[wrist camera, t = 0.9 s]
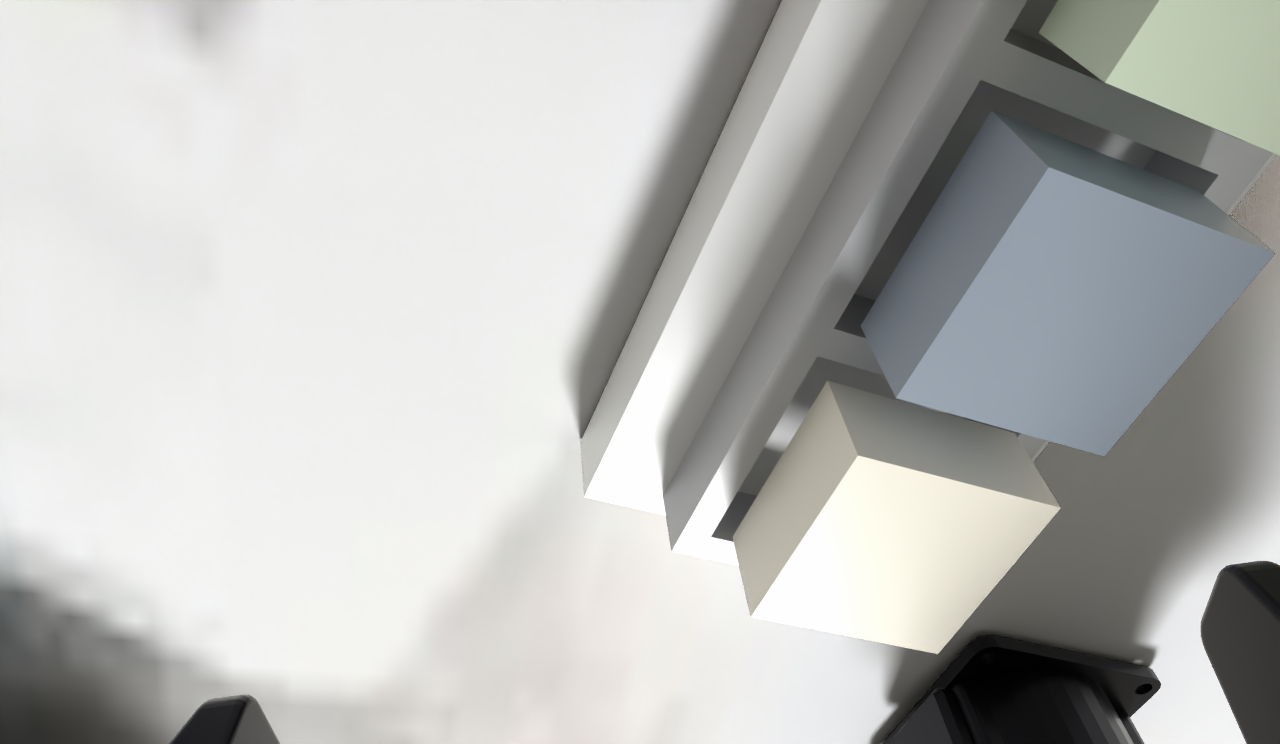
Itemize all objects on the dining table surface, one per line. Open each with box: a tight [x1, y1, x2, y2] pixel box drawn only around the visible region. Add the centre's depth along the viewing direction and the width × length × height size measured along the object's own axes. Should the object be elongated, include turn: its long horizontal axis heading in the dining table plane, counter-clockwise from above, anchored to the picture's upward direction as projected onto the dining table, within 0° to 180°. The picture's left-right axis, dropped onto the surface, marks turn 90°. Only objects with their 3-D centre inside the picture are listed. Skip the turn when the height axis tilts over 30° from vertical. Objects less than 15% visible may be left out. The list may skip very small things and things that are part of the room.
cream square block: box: [733, 381, 1061, 654], centre depth 18 cm, size 4×4×2 cm
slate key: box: [861, 110, 1275, 457], centre depth 15 cm, size 4×4×2 cm
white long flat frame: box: [580, 0, 1277, 566], centre depth 16 cm, size 9×22×3 cm, turn 158°
